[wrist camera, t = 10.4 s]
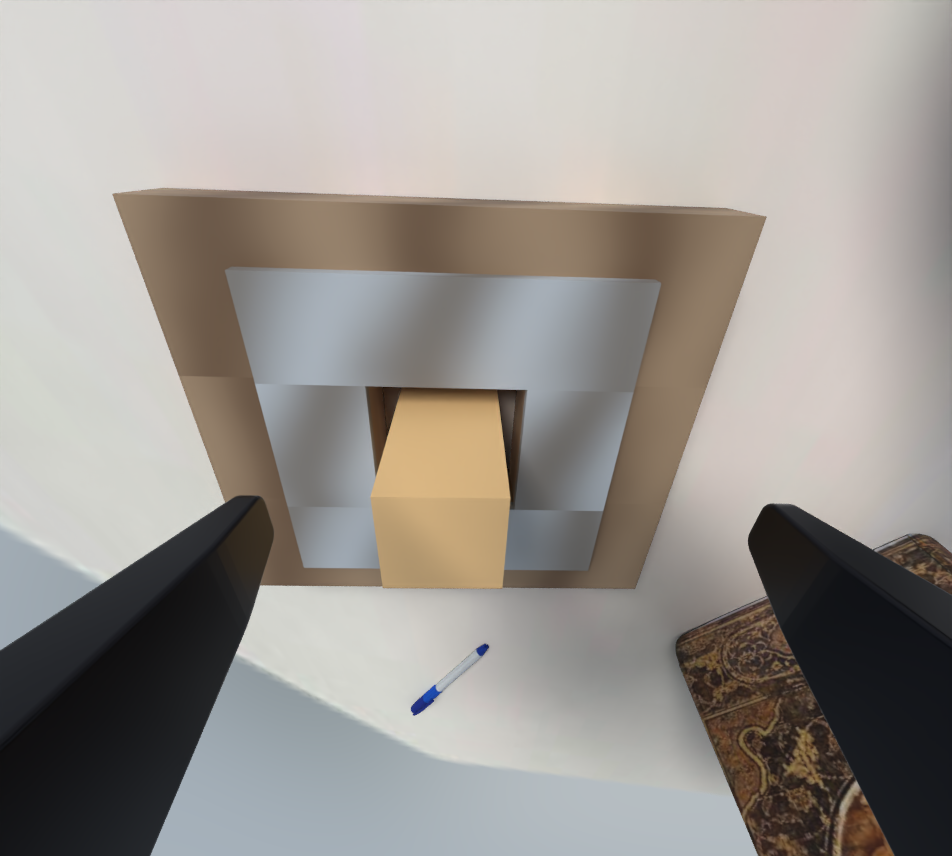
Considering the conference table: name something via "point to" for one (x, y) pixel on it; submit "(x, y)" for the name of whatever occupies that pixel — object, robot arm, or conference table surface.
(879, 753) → the robot arm
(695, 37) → the conference table surface
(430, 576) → the tan cardboard-colored box
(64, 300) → the conference table surface
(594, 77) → the conference table surface
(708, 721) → the book
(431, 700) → the ballpoint pen
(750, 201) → the conference table surface
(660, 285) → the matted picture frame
